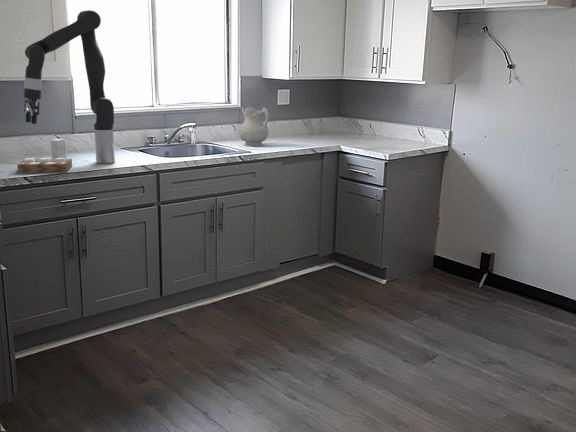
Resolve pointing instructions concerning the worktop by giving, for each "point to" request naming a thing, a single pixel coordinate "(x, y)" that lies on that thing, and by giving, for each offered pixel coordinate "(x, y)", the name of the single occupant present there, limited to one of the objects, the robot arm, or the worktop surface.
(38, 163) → the button board
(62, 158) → the button
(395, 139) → the worktop surface
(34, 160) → the button
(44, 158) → the button middle
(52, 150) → the skincare box
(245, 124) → the ceramic pitcher
